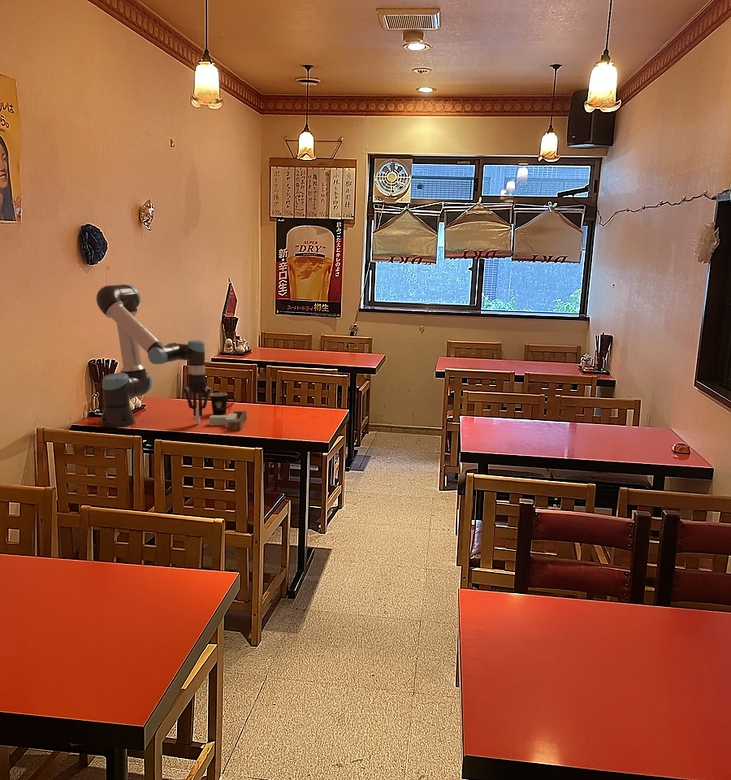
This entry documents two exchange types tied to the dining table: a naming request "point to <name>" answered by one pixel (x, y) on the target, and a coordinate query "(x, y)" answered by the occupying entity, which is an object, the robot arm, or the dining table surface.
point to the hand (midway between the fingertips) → (198, 422)
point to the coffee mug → (220, 403)
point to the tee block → (222, 419)
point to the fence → (237, 424)
